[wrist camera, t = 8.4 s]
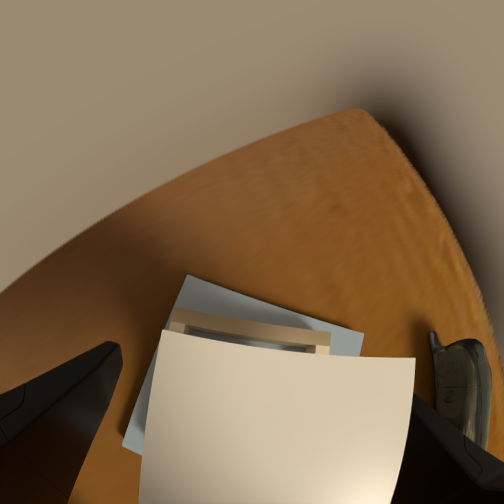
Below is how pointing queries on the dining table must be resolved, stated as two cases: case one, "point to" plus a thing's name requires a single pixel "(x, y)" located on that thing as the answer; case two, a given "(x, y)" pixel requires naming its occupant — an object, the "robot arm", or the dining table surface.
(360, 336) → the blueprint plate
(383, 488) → the block
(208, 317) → the socket collar
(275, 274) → the dining table surface
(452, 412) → the mobile phone
